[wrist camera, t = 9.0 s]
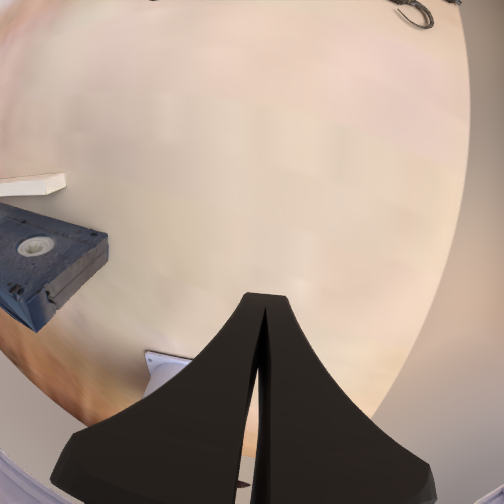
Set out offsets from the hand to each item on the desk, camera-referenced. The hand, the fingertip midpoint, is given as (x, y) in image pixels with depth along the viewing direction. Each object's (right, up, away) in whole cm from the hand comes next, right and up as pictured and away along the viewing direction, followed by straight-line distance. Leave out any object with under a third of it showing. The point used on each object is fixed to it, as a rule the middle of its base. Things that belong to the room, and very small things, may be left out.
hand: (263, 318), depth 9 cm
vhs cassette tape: (-21, +5, +11) cm, 24 cm away
